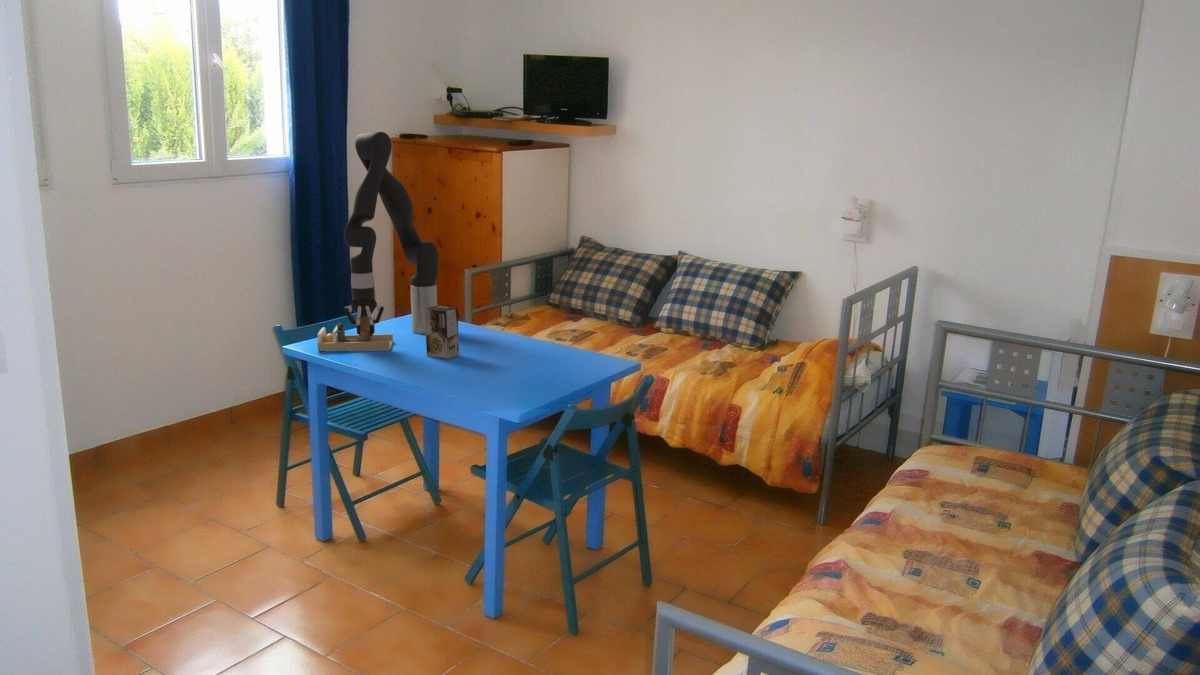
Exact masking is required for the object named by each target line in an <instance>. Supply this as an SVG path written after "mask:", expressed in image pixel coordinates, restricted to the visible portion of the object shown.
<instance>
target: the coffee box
mask: <svg viewBox="0 0 1200 675" xmlns="http://www.w3.org/2000/svg"><path fill="white" fill-rule="evenodd" d="M425 328H426V333H425V341H426V342H425V344H426V346H425V347H426V356H427V357H433V358H440V359H447V360H450V359H452V358H455V357H458V356H460V347H459V318H458V307H455V306H448V305H447V306H444V305H438V304H437V305H435V306H432V307H429V308H426V309H425Z"/></svg>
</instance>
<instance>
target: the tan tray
mask: <svg viewBox="0 0 1200 675" xmlns="http://www.w3.org/2000/svg"><path fill="white" fill-rule="evenodd" d="M336 337H337V334H336ZM345 339H361V336H359V334H345ZM371 339H372V340H371V342H338V338H337V342H336V343H333V342H330V343H318V342H317V352H318V351H349V352H379V351H380V352H382V351H383V352H385V351H390V350H391V348H392V346H393V344H394V334H393V333H382V334H381V333H379V334H378V333H377V334H375V333H374V334H373V335H372V336H371Z"/></svg>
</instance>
